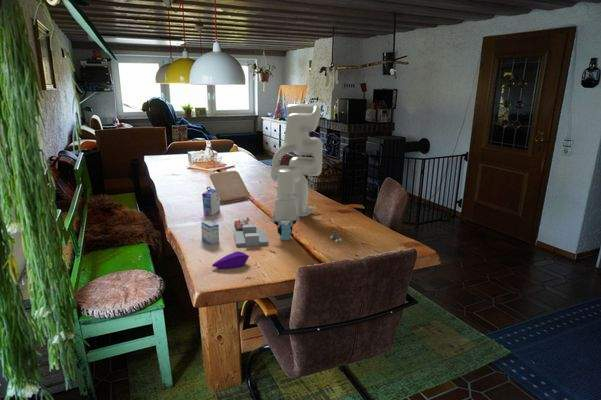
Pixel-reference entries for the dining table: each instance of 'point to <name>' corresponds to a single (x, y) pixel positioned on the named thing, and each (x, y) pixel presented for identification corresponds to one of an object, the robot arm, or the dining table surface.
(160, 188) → the dining table surface
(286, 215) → the robot arm
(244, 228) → the block
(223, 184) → the case
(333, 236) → the car cutout
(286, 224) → the block
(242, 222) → the walkie-talkie
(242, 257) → the purple tapered spindle
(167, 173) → the dining table surface
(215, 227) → the medicine box
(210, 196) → the ink cartridge box
